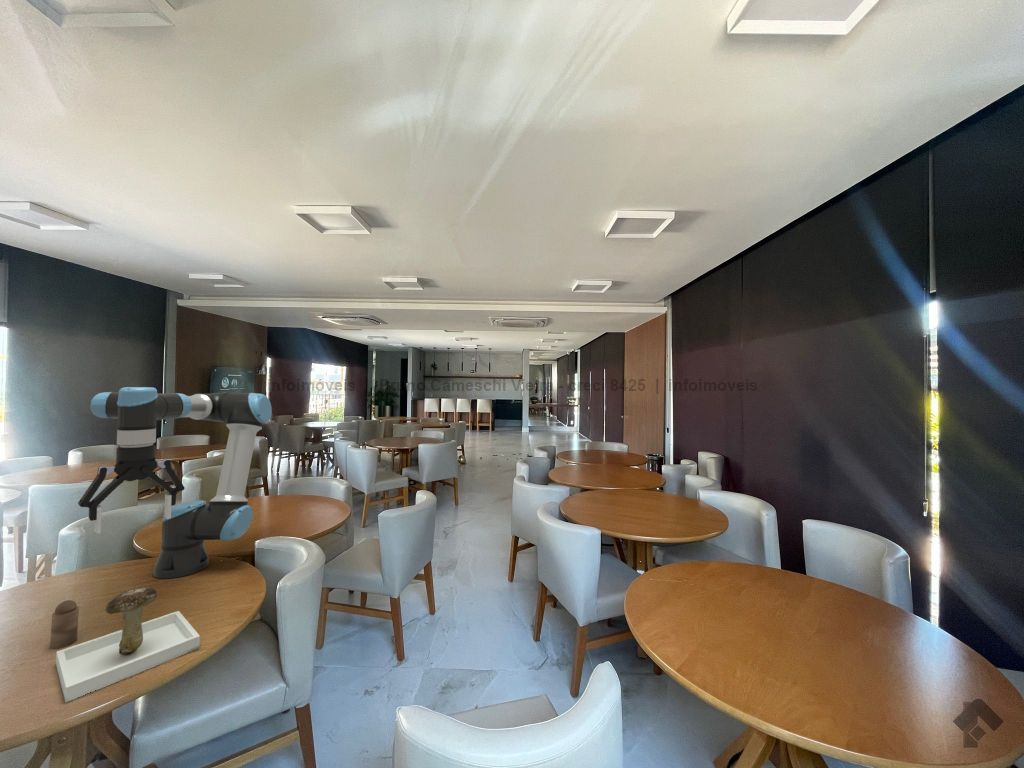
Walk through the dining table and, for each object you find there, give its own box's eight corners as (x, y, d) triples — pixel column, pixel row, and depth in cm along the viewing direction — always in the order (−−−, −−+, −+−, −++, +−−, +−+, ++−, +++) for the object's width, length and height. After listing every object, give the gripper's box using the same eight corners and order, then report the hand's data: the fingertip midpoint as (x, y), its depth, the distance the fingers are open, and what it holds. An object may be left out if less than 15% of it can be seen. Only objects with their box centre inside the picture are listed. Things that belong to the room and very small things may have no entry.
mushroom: (115, 671, 87) (118, 603, 88) (93, 661, 90) (97, 595, 91) (164, 646, 96) (168, 585, 97) (143, 638, 99) (146, 578, 100)
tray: (178, 621, 107) (178, 610, 108) (199, 648, 97) (199, 635, 97) (55, 664, 90) (56, 651, 90) (65, 703, 79) (66, 687, 79)
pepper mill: (75, 635, 100) (78, 594, 101) (78, 642, 98) (80, 600, 98) (49, 644, 97) (51, 601, 97) (51, 651, 94) (53, 607, 95)
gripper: (190, 438, 116) (188, 509, 116) (63, 449, 95) (60, 535, 95) (199, 441, 112) (197, 515, 112) (68, 452, 91) (66, 543, 91)
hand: (134, 524), depth 104 cm, fingers open, 13 cm apart
